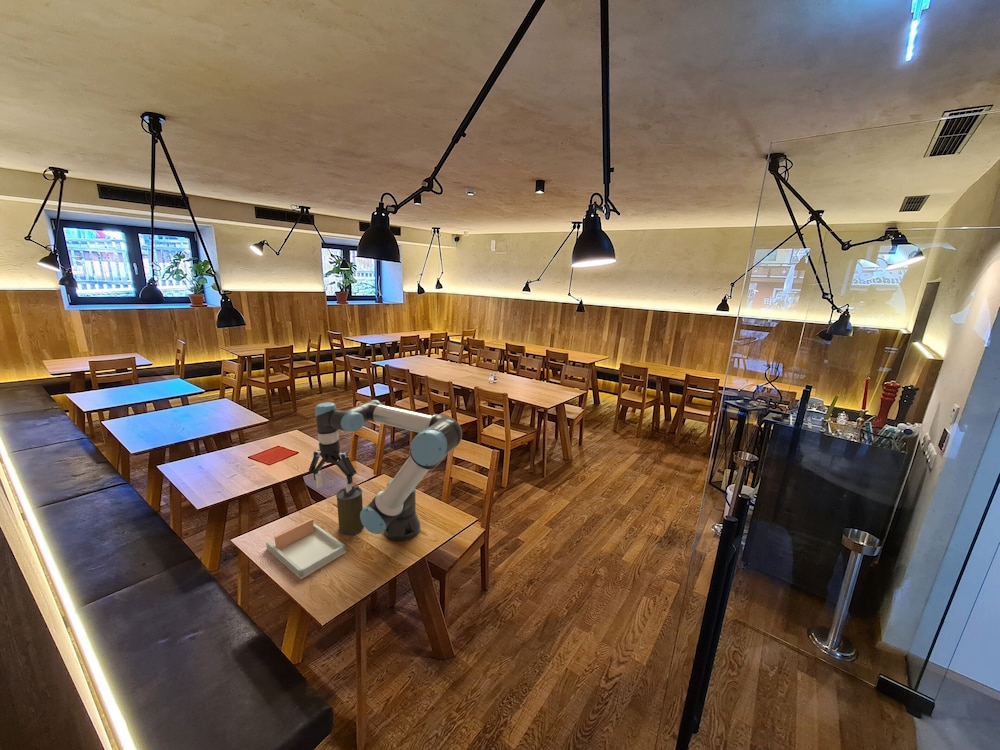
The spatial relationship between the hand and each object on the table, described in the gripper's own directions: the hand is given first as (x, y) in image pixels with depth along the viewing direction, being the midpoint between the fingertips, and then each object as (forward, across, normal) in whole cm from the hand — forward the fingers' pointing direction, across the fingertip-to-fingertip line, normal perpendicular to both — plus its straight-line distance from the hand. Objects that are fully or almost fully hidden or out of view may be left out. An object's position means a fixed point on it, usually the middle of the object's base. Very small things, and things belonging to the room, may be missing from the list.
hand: (334, 489), depth 159 cm
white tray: (+21, +7, +12) cm, 25 cm away
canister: (+22, -2, -5) cm, 23 cm away
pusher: (+20, +17, +8) cm, 27 cm away
